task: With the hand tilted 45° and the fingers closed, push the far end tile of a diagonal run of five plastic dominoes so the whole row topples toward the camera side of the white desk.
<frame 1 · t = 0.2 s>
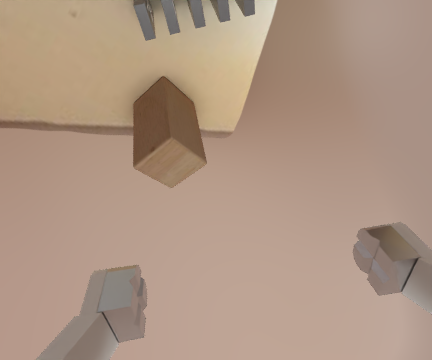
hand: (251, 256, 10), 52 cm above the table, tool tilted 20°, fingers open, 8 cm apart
wooden block: (164, 102, 65), on the table
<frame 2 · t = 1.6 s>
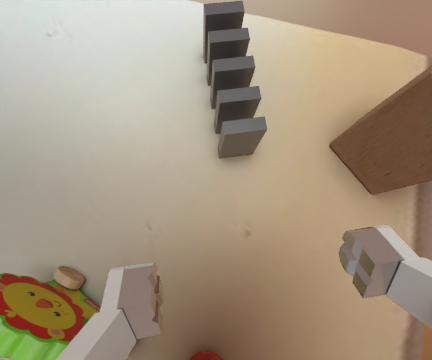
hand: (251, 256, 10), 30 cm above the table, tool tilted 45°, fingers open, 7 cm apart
domino 3: (226, 102, 44), on the table
domino 5: (219, 57, 45), on the table
domino 4: (223, 79, 44), on the table
domino 1: (235, 151, 42), on the table
domino 2: (230, 126, 43), on the table
toy lion: (90, 303, 37), on the table
wooden block: (371, 151, 43), on the table
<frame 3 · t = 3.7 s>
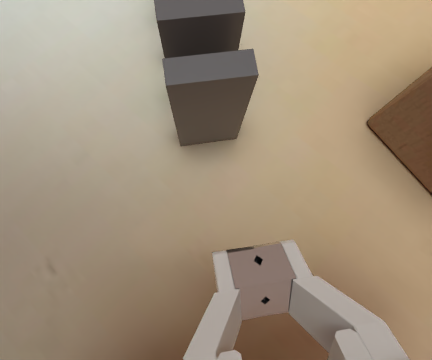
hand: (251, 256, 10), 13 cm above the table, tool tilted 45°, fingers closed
domino 1: (207, 133, 25), on the table
domino 2: (201, 93, 25), on the table
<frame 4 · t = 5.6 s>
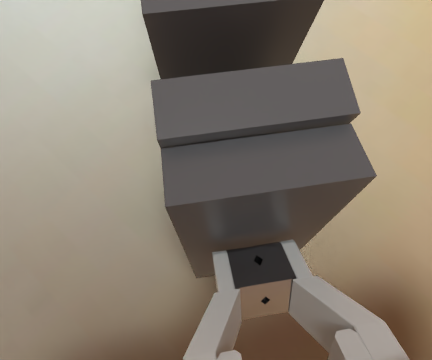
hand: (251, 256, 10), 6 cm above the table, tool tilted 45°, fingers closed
domino 3: (216, 124, 17), on the table
domino 1: (238, 255, 16), on the table, tilted 17°
domino 2: (227, 188, 17), on the table
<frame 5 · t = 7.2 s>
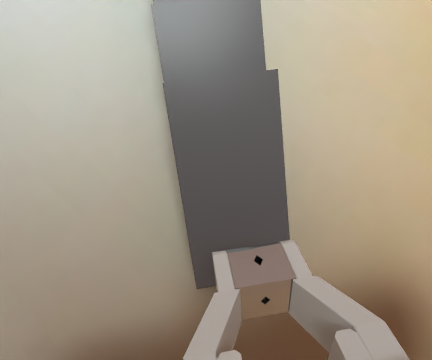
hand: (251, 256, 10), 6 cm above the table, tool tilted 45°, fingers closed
domino 1: (241, 271, 15), point 1 cm above the table, tilted 65°, touching domino 2
domino 2: (229, 201, 16), point 1 cm above the table, tilted 65°, touching domino 1, domino 3
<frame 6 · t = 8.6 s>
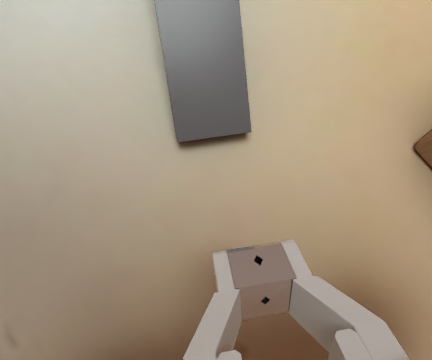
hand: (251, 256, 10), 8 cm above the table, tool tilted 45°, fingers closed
domino 1: (213, 136, 19), point 1 cm above the table, tilted 65°, touching domino 2
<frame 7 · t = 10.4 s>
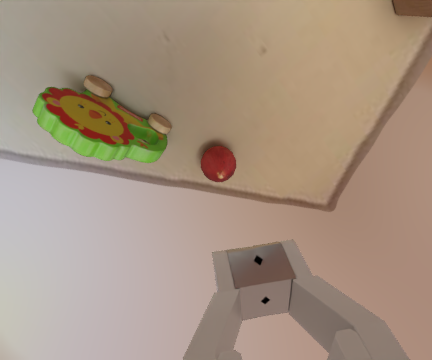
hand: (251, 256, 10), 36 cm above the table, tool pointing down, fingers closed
toy lion: (120, 107, 43), on the table
onion: (215, 153, 49), on the table
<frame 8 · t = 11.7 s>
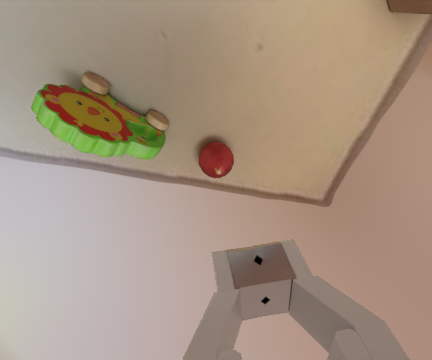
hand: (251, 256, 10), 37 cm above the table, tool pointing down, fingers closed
toy lion: (117, 104, 43), on the table
onion: (213, 149, 50), on the table
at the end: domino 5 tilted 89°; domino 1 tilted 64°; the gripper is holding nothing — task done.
